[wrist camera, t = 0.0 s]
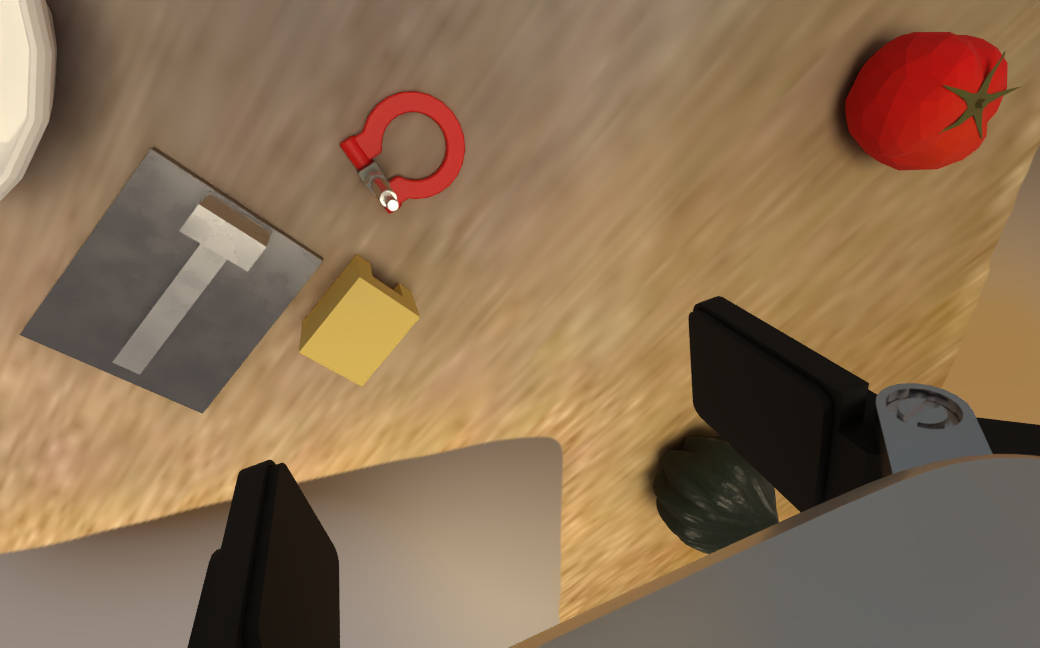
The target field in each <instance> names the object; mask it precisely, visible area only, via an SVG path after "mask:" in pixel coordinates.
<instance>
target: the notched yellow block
mask: <svg viewBox="0 0 1040 648" xmlns="http://www.w3.org/2000/svg"><path fill="white" fill-rule="evenodd" d="M419 318H420V316H419V313H418V310H417V307H416V304H415V301H414V298H413V295H412V293H411V291H410V290H408V289H407V288H406V287H404V286H403V285H401V284H400V283H399V284H398V285H397V286H396V287H395V288H394V290H392V289H391V288H389V287H388V286H386V285H385V284H383V283H382V282H380V281H379V280H377V279H376V278H374V277H373V276H372V271H371V265H370V263H369V262H368V261H366V260H365V259H363V258H362V257H360V256H359V255H358V254H356V256H355V257H354V258H353V259H352V261H351V262H350V263H349V264H348V266H347V267H346V268H345V269H344V271H343V272H342V273H341V274H340V276H339V277H338V278H337V279H336V281H335V282H334V283H333V284H332V286H331V287H330V288H329V289H328V291H327V292H326V293H325V294H324V296H323V297H322V298H321V299H320V301H319V302H318V303H317V304H316V306H315V307H314V308H313V309H312V311H311V312H310V313H309V314H308V316H307V317H306V318H305V319H304V321H303V323H302V331H301V340H300V348H299V353H301V354H303V355H305V356H306V357H308V358H310V359H312V360H314V361H316V362H318V363H319V364H321V365H323V366H325V367H327V368H329V369H330V370H332V371H334V372H336V373H338V374H340V375H342V376H343V377H345V378H347V379H349V380H351V381H353V382H355V383H356V384H358V385H360V386H363V385H364V383H365V382H366V381H367V380H368V379H369V377H370V376H371V375H372V374H373V373H374V372H375V370H376V369H377V368H378V367H379V366H380V364H381V363H382V362H383V361H384V360H385V358H386V357H387V356H388V355H389V354H390V352H391V351H392V350H393V349H394V348H395V346H396V345H397V344H398V343H399V342H400V341H401V339H402V338H403V337H404V336H405V335H406V333H407V332H408V331H409V330H410V329H411V327H412V326H413V325H414V324H415V323H416V321H417V320H418V319H419Z"/></svg>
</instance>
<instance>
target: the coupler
mask: <svg viewBox="0 0 1040 648" xmlns="http://www.w3.org/2000/svg"><path fill="white" fill-rule="evenodd" d="M322 262H323V258H322V257H320V256H319V255H317V254H316V253H314V252H313V251H311V250H310V249H308V248H307V247H305V246H304V245H302V244H301V243H299V242H298V241H296V240H295V239H293V238H291V237H290V236H288V235H287V234H285V233H284V232H282V231H281V230H279V229H278V228H276V227H275V226H273V225H272V224H270V223H269V222H267V221H266V220H264V219H263V218H261V217H260V216H258V215H256V214H255V213H253V212H252V211H250V210H249V209H247V208H246V207H244V206H243V205H241V204H240V203H238V202H237V201H235V200H234V199H232V198H231V197H229V196H228V195H226V194H225V193H223V192H221V191H220V190H218V189H217V188H215V187H214V186H212V185H211V184H209V183H208V182H206V181H205V180H203V179H202V178H200V177H199V176H197V175H196V174H194V173H193V172H191V171H190V170H188V169H186V168H185V167H183V166H182V165H180V164H179V163H177V162H176V161H174V160H173V159H171V158H170V157H168V156H167V155H165V154H164V153H162V152H161V151H159V150H158V149H156V148H155V147H154V148H152V149H151V150H150V151H149V152H148V154H147V155H146V157H145V158H144V160H143V161H142V162H141V164H140V165H139V167H138V168H137V169H136V171H135V172H134V174H133V175H132V177H131V178H130V179H129V181H128V182H127V184H126V185H125V186H124V188H123V189H122V191H121V192H120V194H119V195H118V196H117V198H116V199H115V201H114V202H113V203H112V205H111V206H110V208H109V209H108V211H107V212H106V213H105V215H104V216H103V218H102V219H101V220H100V222H99V223H98V225H97V226H96V227H95V229H94V230H93V232H92V233H91V235H90V236H89V237H88V239H87V240H86V242H85V243H84V244H83V246H82V247H81V249H80V250H79V252H78V253H77V254H76V256H75V257H74V259H73V260H72V261H71V263H70V264H69V266H68V267H67V269H66V270H65V271H64V273H63V274H62V276H61V277H60V278H59V280H58V281H57V283H56V284H55V286H54V287H53V288H52V290H51V291H50V293H49V294H48V295H47V297H46V298H45V300H44V301H43V303H42V304H41V305H40V307H39V308H38V310H37V311H36V312H35V314H34V315H33V317H32V318H31V319H30V321H29V322H28V324H27V325H26V327H25V328H24V329H23V331H22V332H21V334H20V335H21V336H24V337H26V338H28V339H31V340H33V341H35V342H38V343H40V344H42V345H45V346H47V347H49V348H52V349H54V350H56V351H59V352H61V353H63V354H66V355H68V356H70V357H72V358H75V359H77V360H79V361H82V362H84V363H86V364H89V365H91V366H93V367H96V368H98V369H100V370H103V371H105V372H107V373H110V374H112V375H114V376H117V377H119V378H121V379H124V380H126V381H128V382H131V383H133V384H135V385H137V386H140V387H142V388H144V389H147V390H149V391H151V392H154V393H156V394H158V395H161V396H163V397H165V398H168V399H170V400H172V401H175V402H177V403H179V404H182V405H184V406H186V407H189V408H191V409H193V410H196V411H198V412H200V413H203V412H204V411H205V410H206V409H207V407H208V406H209V405H210V403H211V402H212V401H213V400H214V398H215V397H216V396H217V395H218V393H219V392H220V391H221V390H222V388H223V387H224V386H225V385H226V383H227V382H228V381H229V379H230V378H231V377H232V376H233V374H234V373H235V372H236V371H237V369H238V368H239V367H240V366H241V364H242V363H243V362H244V360H245V359H246V358H247V357H248V355H249V354H250V353H251V352H252V350H253V349H254V348H255V347H256V345H257V344H258V343H259V342H260V340H261V339H262V338H263V336H264V335H265V334H266V333H267V331H268V330H269V329H270V328H271V326H272V325H273V324H274V323H275V321H276V320H277V319H278V317H279V316H280V315H281V314H282V312H283V311H284V310H285V309H286V307H287V306H288V305H289V304H290V302H291V301H292V300H293V298H294V297H295V296H296V295H297V293H298V292H299V291H300V290H301V288H302V287H303V286H304V285H305V283H306V282H307V281H308V280H309V278H310V277H311V276H312V274H313V273H314V272H315V271H316V269H317V268H318V267H319V266H320V264H321V263H322Z"/></svg>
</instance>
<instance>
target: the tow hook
mask: <svg viewBox="0 0 1040 648" xmlns="http://www.w3.org/2000/svg"><path fill="white" fill-rule="evenodd" d="M406 112H419V113H423V114H425V115H427V116H429V117H431V118H432V119H433V120H434V121H435V122H436V123H437V124H438V125H439V127H440V128H441V130H442V131H443V134H444V137H445V141H446V153H445V158H444V160H443V162H442V165H441V166H440V167H439V169H438V170H437V171H436V172H435V173H433V174H432V175H431V176H429V177H427V178H424V179H419V180H411V179H405V178H403V177H401V176H395V177H394V178H392V179H391V180H389V181H388V180H387V179H386V178H385V176H384V175H383V173H382V172H381V170H380V169H379V167H378V166H377V165H376V163H375V162H374V161H373V160H371V159H372V158H374V157H375V156H377V155H378V154H380V153H381V151H382V146H381V145H382V136H383V134H384V131H385V129H386V127H387V126H388V124H389V123H390V122H391V120H393V119H394V118H396V117H397V116H398V115H401V114H404V113H406ZM340 146H341V148H342V149H343V151H344V152H345V153H346V155H347V156H348V158H349V159H350V160H351V162H352V163H353V165H354V166H355V167H356V169H357V172H358V174H359V176H360V177H361V178H362V180H363V181H364V183H365V184H366V185H367V187H368V188H369V189H370V191H371V192H372V194H373V195H376V197H377V198H378V200H379V201H380V203H381V204H382V205H383V206H384V208H385V209H386V211H387V212H388V213H392V212H394V211H397V210H398V209H399V208H400V207H401V205H402V204H401V203H402V202H403V201H405V200H406V199H408V198H412V199H419V198H428V197H430V196H433V195H435V194H438V193H440V192H441V191H443V190H444V189H445V188H447V187H448V186H449V185H450V184H451V183H452V182H453V180H454V179H455V178H456V177H457V175H458V173H459V171H460V169H461V166H462V164H463V159H464V153H465V144H464V135H463V132H462V129H461V126H460V123H459V122H458V120H457V118H456V117H455V115H454V114H453V112H452V111H451V110H450V109H449V108H448V107H447V106H446V105H445V104H444V103H443V102H442V101H440V100H438V99H436V98H434V97H432V96H431V95H428V94H424V93H420V92H415V91H414V92H400V93H397V94H394V95H391V96H388V97H387V98H385V99H384V100H382V101H381V102H380V103H378V104H377V105H376V106H375V108H374V109H373V110H372V111H371V113H370V114H369V115H368V117H367V120H366V123H365V125H364V128H363V131H362V132H361V133H359V134H358V135H356V136H354V135H353V136H350V137H349V138H347V139H345V140H344V141H343V142H341V143H340Z"/></svg>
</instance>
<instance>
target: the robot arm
mask: <svg viewBox="0 0 1040 648" xmlns="http://www.w3.org/2000/svg"><path fill="white" fill-rule="evenodd" d="M689 337H690V355H691V374H692V393H693V404H694V407H695V410H696V412H697V413H698V415H699V416H700V417H701V418H702V419H703V420H704V421H705V422H706V423H707V424H708V425H709V426H710V427H711V428H713V429H714V430H715V431H716V432H717V433H718V434H719V435H720V436H721V437H722V438H723V439H724V440H725V441H726V442H727V443H728V444H729V445H730V446H731V447H733V448H734V449H735V450H736V451H737V452H738V453H739V454H740V455H741V456H742V457H743V458H744V459H745V460H746V461H747V462H748V463H749V464H750V465H751V466H753V467H754V468H755V469H756V470H757V471H758V472H759V473H760V474H761V475H762V476H763V477H764V478H765V479H766V480H767V481H768V482H769V483H770V484H771V485H773V486H774V487H775V488H776V489H777V490H778V491H779V492H780V493H781V494H782V495H783V496H784V497H785V498H786V499H787V500H788V501H789V502H790V503H791V504H793V505H794V506H795V507H796V508H797V509H798V510H799V511H800V512H801V513H799V514H797V515H795V516H792V517H790V518H788V519H786V520H784V521H781V522H779V523H777V524H775V525H773V526H770V527H768V528H766V529H764V530H762V531H759V532H757V533H755V534H753V535H751V536H749V537H746V538H744V539H742V540H740V541H738V542H735V543H733V544H731V545H729V546H727V547H724V548H722V549H720V550H718V551H716V552H713V553H711V554H709V555H707V556H705V557H702V558H700V559H698V560H696V561H694V562H692V563H689V564H687V565H685V566H683V567H681V568H679V569H676V570H674V571H672V572H670V573H668V574H666V575H664V576H661V577H659V578H657V579H655V580H653V581H651V582H648V583H646V584H644V585H642V586H640V587H638V588H635V589H633V590H631V591H629V592H627V593H625V594H622V595H620V596H618V597H616V598H614V599H612V600H610V601H607V602H605V603H603V604H601V605H599V606H597V607H594V608H592V609H590V610H588V611H586V612H584V613H582V614H579V615H577V616H575V617H573V618H571V619H569V620H566V621H564V622H562V623H560V624H558V625H556V626H554V627H551V628H549V629H547V630H545V631H543V632H541V633H539V634H537V635H534V636H532V637H530V638H528V639H526V640H524V641H522V642H520V643H517V644H515V645H513V646H511V647H509V648H1040V425H1035V424H1026V423H1018V422H1010V421H1001V420H993V419H984V418H976V416H975V414H974V412H973V410H972V409H971V408H970V406H969V405H968V404H967V403H966V402H965V401H964V400H962V399H961V398H959V397H958V396H957V395H955V394H952V393H950V392H948V391H946V390H944V389H940V388H937V387H933V386H930V385H923V384H916V383H907V384H897V385H892V386H889V387H887V388H885V389H883V390H881V391H880V393H879V394H878V395H877V394H875V393H873V392H872V391H870V390H868V386H869V383H868V382H866V381H864V380H862V379H861V378H859V377H857V376H856V375H854V374H852V373H851V372H849V371H847V370H845V369H844V368H842V367H840V366H839V365H837V364H835V363H834V362H832V361H830V360H828V359H827V358H825V357H823V356H822V355H820V354H818V353H817V352H815V351H813V350H811V349H810V348H808V347H806V346H805V345H803V344H801V343H800V342H798V341H796V340H794V339H793V338H791V337H789V336H788V335H786V334H784V333H783V332H781V331H779V330H777V329H776V328H774V327H772V326H771V325H769V324H767V323H766V322H764V321H762V320H760V319H759V318H757V317H755V316H754V315H752V314H750V313H749V312H747V311H745V310H743V309H742V308H740V307H738V306H737V305H735V304H733V303H732V302H730V301H728V300H726V299H725V298H723V297H720V296H717V297H714V298H711V299H709V300H706V301H703V302H700V303H698V304H696V305H695V306H694V309H693V312H691V313H690V314H689ZM339 611H340V610H339V560H338V555H337V552H336V549H335V547H334V545H333V543H332V542H331V540H330V538H329V536H328V535H327V533H326V531H325V530H324V528H323V526H322V525H321V523H320V521H319V520H318V518H317V516H316V515H315V513H314V511H313V510H312V508H311V506H310V505H309V503H308V501H307V499H306V498H305V496H304V494H303V493H302V491H301V489H300V488H299V486H298V484H297V483H296V481H295V479H294V478H293V476H292V474H291V472H290V471H289V469H288V467H287V466H286V465H285V464H284V463H280V464H277V465H276V464H275V463H274V462H273V461H272V460H267V461H264V462H262V463H259V464H256V465H253V466H251V467H248V468H245V469H243V470H241V471H240V472H239V474H238V478H237V482H236V486H235V491H234V495H233V499H232V503H231V508H230V512H229V516H228V520H227V525H226V529H225V534H224V537H223V542H222V546H221V549H218V550H216V551H215V552H214V553H213V554H212V556H211V559H210V561H209V565H208V569H207V573H206V577H205V580H204V584H203V589H202V593H201V596H200V600H199V604H198V609H197V612H196V616H195V621H194V624H193V628H192V632H191V636H190V640H189V644H188V648H340V614H339V613H340V612H339Z"/></svg>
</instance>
